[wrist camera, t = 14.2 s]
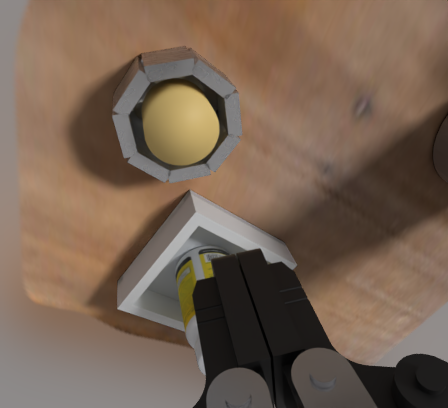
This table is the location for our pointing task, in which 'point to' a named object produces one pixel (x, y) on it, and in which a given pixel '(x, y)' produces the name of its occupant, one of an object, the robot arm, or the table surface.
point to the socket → (156, 72)
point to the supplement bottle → (186, 279)
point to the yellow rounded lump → (179, 122)
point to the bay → (182, 244)
